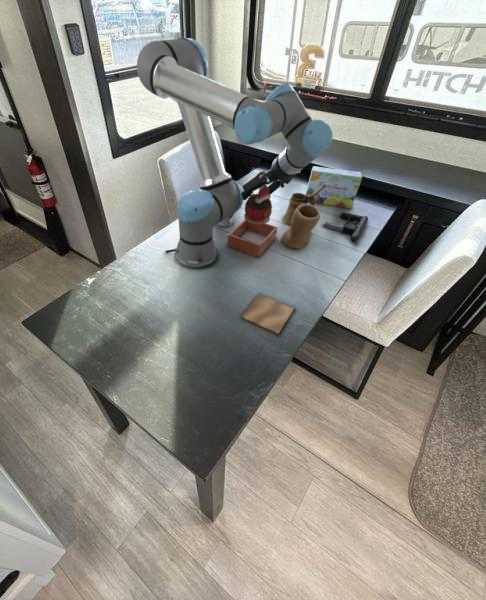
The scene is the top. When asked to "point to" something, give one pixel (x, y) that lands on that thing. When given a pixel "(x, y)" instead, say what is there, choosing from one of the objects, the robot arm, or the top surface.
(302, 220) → the tan boot
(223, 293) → the top surface
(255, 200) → the cake
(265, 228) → the orange square tray
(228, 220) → the mug
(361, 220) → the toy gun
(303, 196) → the brown watering can
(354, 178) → the snack box
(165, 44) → the robot arm
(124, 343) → the top surface
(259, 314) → the cork mat
